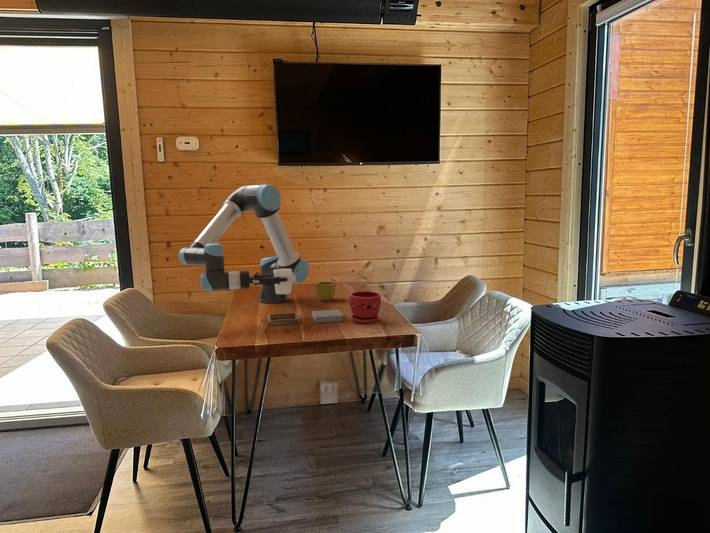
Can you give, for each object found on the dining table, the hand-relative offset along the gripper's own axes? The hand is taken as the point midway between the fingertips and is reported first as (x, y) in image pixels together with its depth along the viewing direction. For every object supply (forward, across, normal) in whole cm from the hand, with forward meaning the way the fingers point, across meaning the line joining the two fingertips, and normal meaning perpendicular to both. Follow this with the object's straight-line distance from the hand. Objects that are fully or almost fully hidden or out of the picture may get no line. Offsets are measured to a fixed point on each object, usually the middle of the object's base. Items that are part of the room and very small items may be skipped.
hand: (294, 277), depth 206 cm
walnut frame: (-5, 0, -19) cm, 20 cm away
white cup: (-5, 0, -7) cm, 8 cm away
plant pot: (+29, +10, -19) cm, 36 cm away
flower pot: (+19, -40, -19) cm, 49 cm away
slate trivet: (+14, +2, -19) cm, 23 cm away
